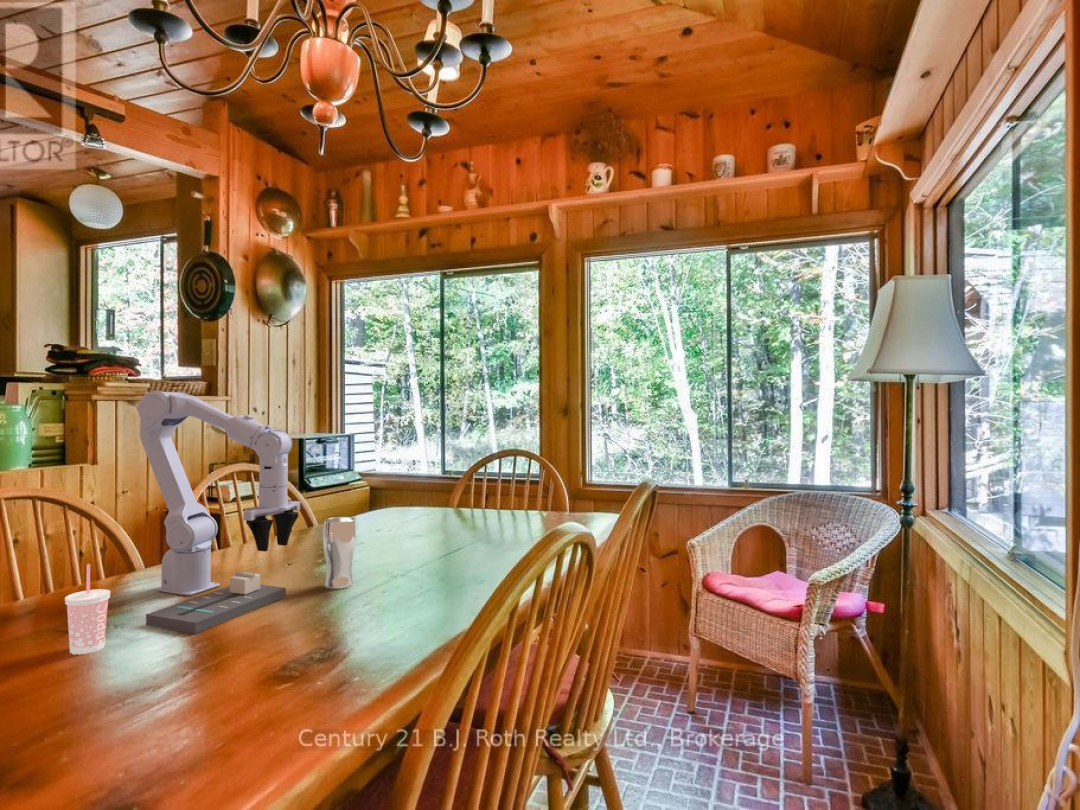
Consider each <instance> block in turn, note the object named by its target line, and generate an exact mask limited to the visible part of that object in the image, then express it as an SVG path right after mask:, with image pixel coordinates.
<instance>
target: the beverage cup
mask: <svg viewBox="0 0 1080 810" xmlns="http://www.w3.org/2000/svg"><path fill="white" fill-rule="evenodd" d="M85 582H86V586H85V587H86V588H85V589H86V590H82V591H78V592H73V593H71V594H68V595H67V596H65V597H64V602H65V603H64V605H66V613H67V627H68V640H69V641H68V643H69V654H71V653H72V654H71V655H76V654H78V655H86V654H91V653H95V652H97V651H100V650H102V649H103V648H105V643H106V642H105V641H106V632H107V631H106V630H107V617H108V603H109V599H110V598H111V590H110V589H104V588H98V589H91V564H90V563H88V564H86V581H85Z"/></svg>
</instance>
